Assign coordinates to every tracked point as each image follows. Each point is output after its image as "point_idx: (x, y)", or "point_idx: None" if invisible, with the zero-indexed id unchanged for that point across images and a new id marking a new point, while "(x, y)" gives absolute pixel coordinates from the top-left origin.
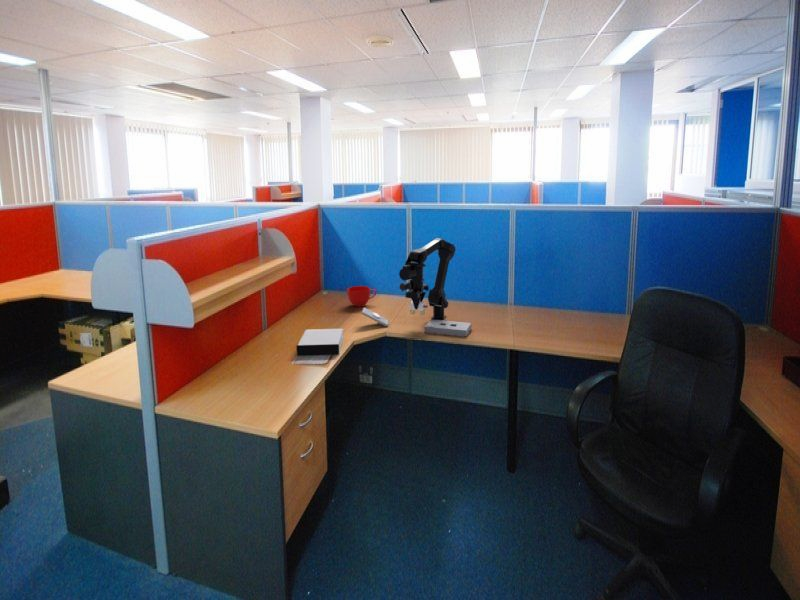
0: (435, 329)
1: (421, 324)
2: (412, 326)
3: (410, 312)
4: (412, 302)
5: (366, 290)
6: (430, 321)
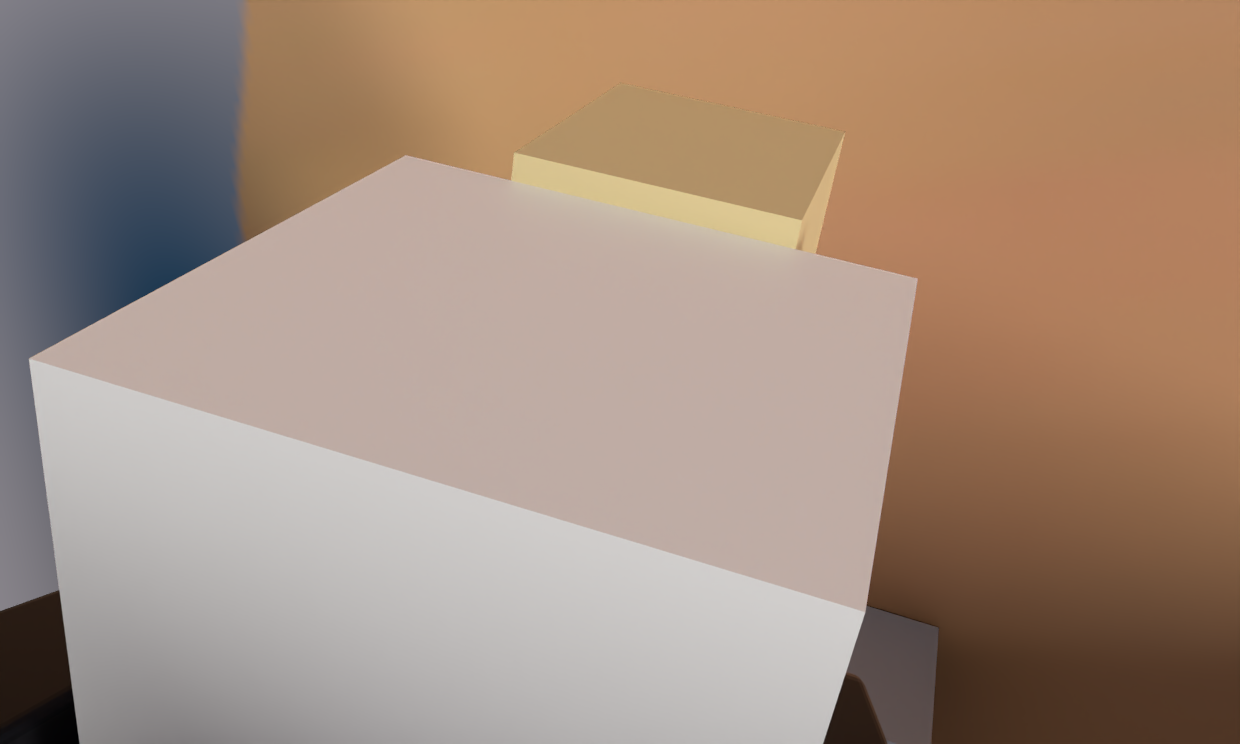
0: None
1: (1020, 351)
2: (777, 69)
3: (593, 117)
4: (204, 597)
5: None
6: None
